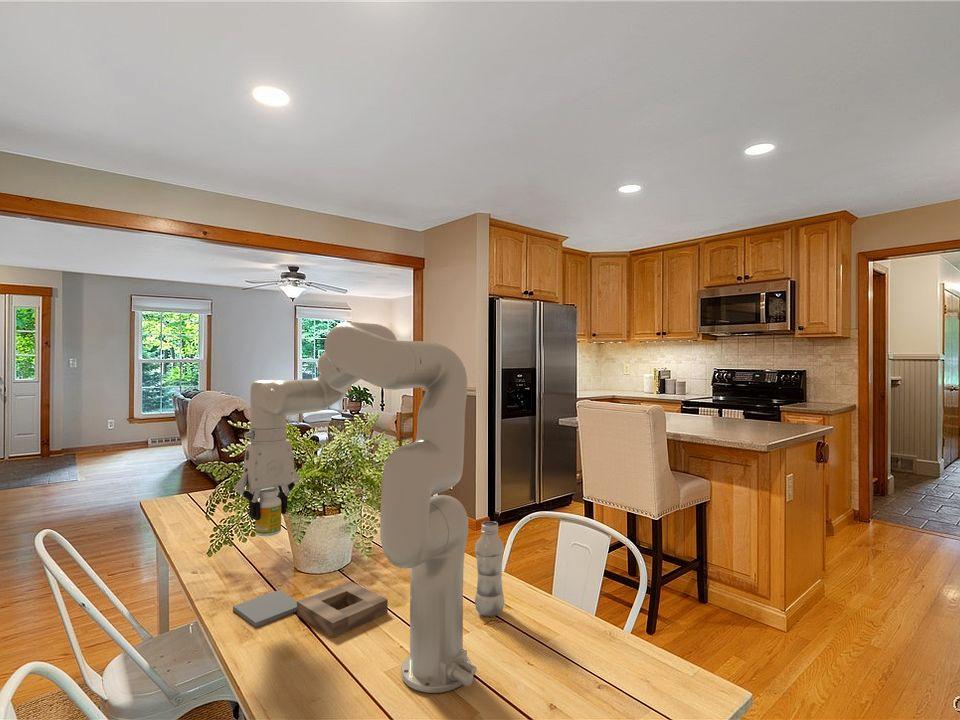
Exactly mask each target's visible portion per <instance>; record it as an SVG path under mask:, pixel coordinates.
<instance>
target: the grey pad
mask: <svg viewBox="0 0 960 720" xmlns="http://www.w3.org/2000/svg"><path fill="white" fill-rule="evenodd" d="M297 601H298V600H297V599H296V598H293V597H292V596H290V595H289V594H287V593H286V592H284V591H282V590H280V589H278V590H275V591H271V592H269V593H267V594H264V595H261V596H258V597H255V598H252V599H249V600H245V601H244V602H241V603H238V604H234V605H232V611H233V612H234V613H236V614H237V615H238V616H240V617H241V618H242V619H244V620H245V621H246V622H248V623H249V624H251V626H253V627H254V628H258V627H260V626H263V625H265V624H269V623H271V622H274V621H276V620H279V619H280V618H284V617H286V616H289V615H291V613H292V614H294V613H297V612H296V611H297ZM293 612H294V613H293Z"/></svg>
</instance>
